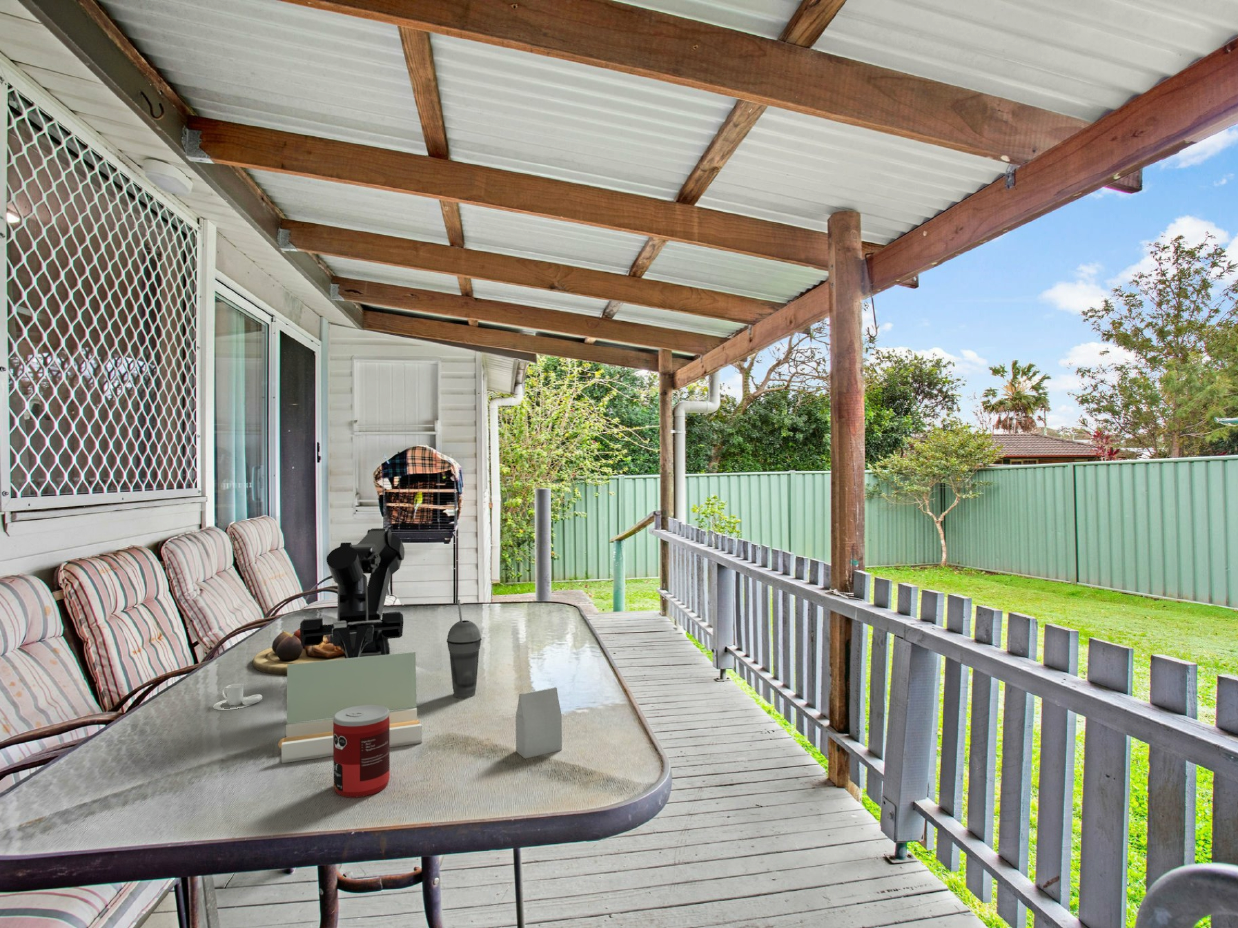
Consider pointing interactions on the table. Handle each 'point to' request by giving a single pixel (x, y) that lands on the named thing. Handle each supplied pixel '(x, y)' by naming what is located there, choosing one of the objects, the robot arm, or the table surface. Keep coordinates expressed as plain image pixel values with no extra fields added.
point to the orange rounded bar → (332, 733)
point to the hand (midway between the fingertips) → (353, 666)
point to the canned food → (361, 750)
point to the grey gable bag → (538, 723)
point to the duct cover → (350, 685)
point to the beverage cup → (464, 656)
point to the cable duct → (325, 744)
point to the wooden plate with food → (294, 653)
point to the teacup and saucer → (237, 697)
